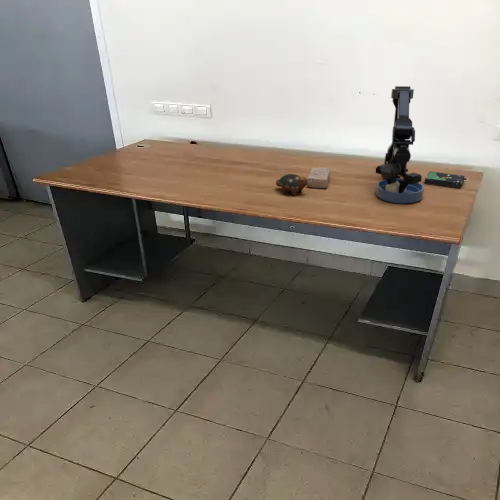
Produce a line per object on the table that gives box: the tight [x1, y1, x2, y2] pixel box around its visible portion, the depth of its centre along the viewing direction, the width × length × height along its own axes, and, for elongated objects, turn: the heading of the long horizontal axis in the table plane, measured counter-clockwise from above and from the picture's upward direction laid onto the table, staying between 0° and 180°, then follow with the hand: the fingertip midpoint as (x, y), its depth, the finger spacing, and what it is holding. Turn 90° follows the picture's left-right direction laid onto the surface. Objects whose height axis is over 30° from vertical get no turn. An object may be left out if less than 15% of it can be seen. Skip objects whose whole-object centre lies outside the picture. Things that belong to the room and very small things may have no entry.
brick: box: [306, 167, 331, 189], centre depth 221 cm, size 17×8×5 cm, turn 167°
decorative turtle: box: [275, 173, 308, 197], centre depth 210 cm, size 10×15×8 cm, turn 57°
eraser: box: [385, 182, 407, 193], centre depth 203 cm, size 8×4×5 cm, turn 125°
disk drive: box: [424, 171, 466, 189], centre depth 218 cm, size 10×3×15 cm
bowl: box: [375, 178, 425, 205], centre depth 205 cm, size 18×18×4 cm
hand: (395, 194), depth 204 cm, fingers closed on eraser, 4 cm apart
